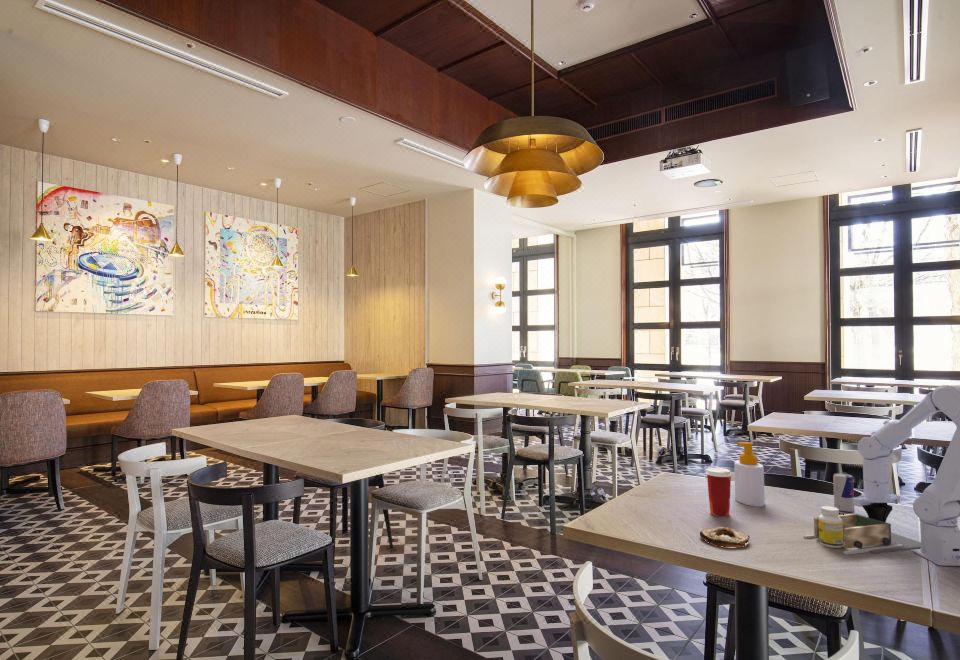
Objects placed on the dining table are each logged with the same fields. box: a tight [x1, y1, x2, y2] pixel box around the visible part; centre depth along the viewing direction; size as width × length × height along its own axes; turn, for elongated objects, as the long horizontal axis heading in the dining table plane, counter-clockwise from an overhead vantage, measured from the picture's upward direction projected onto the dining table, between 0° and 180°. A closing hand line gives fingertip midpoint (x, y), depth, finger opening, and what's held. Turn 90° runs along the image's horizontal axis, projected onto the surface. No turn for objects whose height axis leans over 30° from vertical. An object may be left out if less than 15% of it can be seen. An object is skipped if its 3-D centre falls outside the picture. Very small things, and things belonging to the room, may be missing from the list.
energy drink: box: [832, 472, 855, 515], centre depth 174 cm, size 5×5×12 cm
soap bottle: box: [733, 441, 766, 508], centre depth 187 cm, size 13×8×20 cm, turn 178°
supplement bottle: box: [818, 505, 844, 549], centre depth 146 cm, size 5×5×10 cm
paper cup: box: [705, 467, 732, 517], centre depth 174 cm, size 8×8×14 cm
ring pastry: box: [699, 526, 751, 548], centre depth 149 cm, size 15×15×4 cm
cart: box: [813, 512, 892, 550], centre depth 147 cm, size 15×12×5 cm
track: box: [803, 532, 921, 556], centre depth 148 cm, size 26×16×1 cm, turn 105°
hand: (877, 530), depth 149 cm, fingers closed
